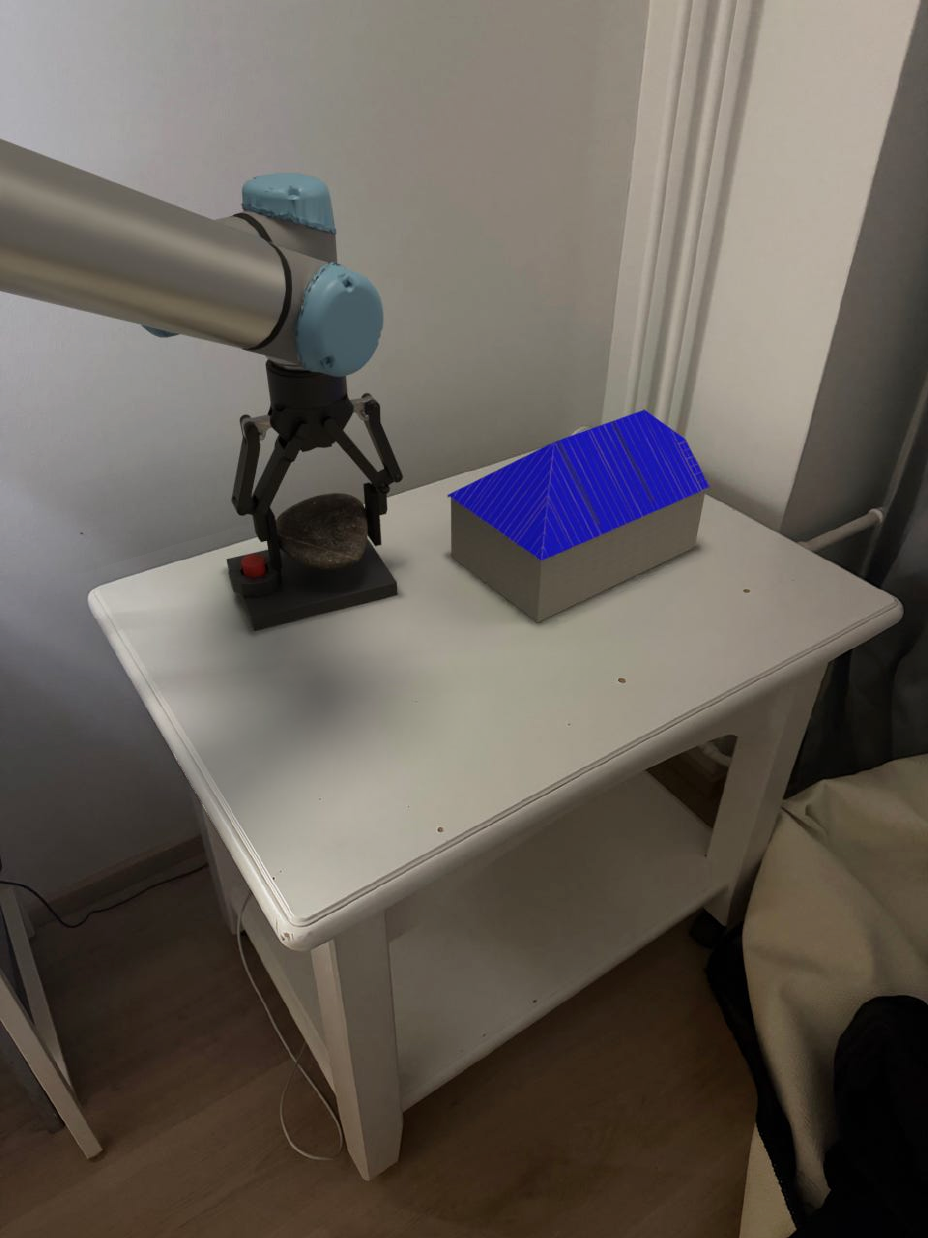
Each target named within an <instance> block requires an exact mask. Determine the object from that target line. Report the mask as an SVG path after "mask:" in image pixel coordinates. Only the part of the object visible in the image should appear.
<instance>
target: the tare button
mask: <svg viewBox="0 0 928 1238" xmlns="http://www.w3.org/2000/svg"><path fill="white" fill-rule="evenodd" d="M242 568H243V573H244V576H245V577H250V578H255V577H259V576H262V575H264V574H265V573H266V566H265V560H264V557H263V556H261V555H258V554H252V555H248V556H246V557H244V558H243V559H242Z"/></svg>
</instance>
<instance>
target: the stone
mask: <svg viewBox="0 0 928 1238" xmlns="http://www.w3.org/2000/svg"><path fill="white" fill-rule="evenodd" d="M275 520H276V527H277V534H278V541H279V548H280V549H281V550H282V551H283V552H284V553H285V554H286V555H288V556H289V557H290V558H292V559H293V560H295V561H297V562H299V563H301V564H303V565H305V566H308V567H311V568H316V569H322V570H334V569H340V568H344V567H348V566H350V565H353V564H355V563H357V562H358V561H359V560H360V559H361V557H362V555H363V553H364V550H365V547H366V543H367V538H368V526H367V514H366V510H365V504H363V502H362V501H361V500H360V499H359V498H357V497H356V496H353V495H352V494H348V493H342V492H330V493H324V494H323V493H322V494H320V495H316V496H312V497H311V496H310V497H309V498H307V499H303V500H301V501H299V502H297V503H295V504H293V505H291V506H290V507H288V508H286V509H285V510H283V512H281V513H280V514H279V515H278V516H277V517H276V518H275Z"/></svg>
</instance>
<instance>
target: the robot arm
mask: <svg viewBox="0 0 928 1238" xmlns="http://www.w3.org/2000/svg"><path fill="white" fill-rule="evenodd" d="M241 198H242V199H241V200H242V201H241V204H240V205H241V208H242V210H243V211H241V212H236V213H234V214H232V215H229V216H226V217H221V218H217V219H212V218H210V217H207V216H204V215H201V214H199V213H197V212H194V211H192V210H188V209H186V208H183V207H181V206H179V205H175V204H173V203H170V202H168V201H165V200H162V199H160V198H158V197H155V196H152V195H149V194H147V193H144V192H142V191H140V190H136V189H134V188H131V187H129V186H126V185H123V184H121V183H118V182H115V181H113V180H110V179H108V178H105V177H102V176H99V175H97V174H95V173H92V172H89V171H87V170H84V169H81V168H79V167H76V166H73V165H71V164H68V163H65V162H63V161H60V160H58V159H56V158H53V157H50V156H47V155H45V154H42V153H40V152H37V151H35V150H32V149H29V148H26V147H24V146H21V145H19V144H16V143H13V142H11V141H8V140H5V139H3V138H0V292H1V293H7V294H10V295H15V296H19V297H23V298H27V299H32V300H36V301H40V302H44V303H48V304H52V305H56V306H61V307H65V308H69V309H73V310H77V311H81V312H86V313H90V314H94V315H97V316H98V315H99V316H102V317H108V318H112V319H115V320H119V321H123V322H126V323H127V322H128V323H131V324H136V325H140V326H141V327H142V328H143V329H144V330H146V331H147V332H148V333H150V334H151V335H153V336H154V337H157V338H161V339H162V338H163V339H166V338H171V337H175V336H179V335H182V336H185V337H186V336H187V337H190V338H193V339H198V340H203V341H208V342H212V343H214V344H215V343H216V344H220V345H223V346H224V345H225V346H228V347H232V348H235V349H241V350H242V351H245V352H250V353H254V354H259V355H262V356H264V357H266V359H267V360H266V361H265V365H264V366H265V372H266V380H267V387H268V395H269V401H270V405H269V408H268V411H267V414H264V415H260V416H259V415H258V416H254V417H252V416H251V415H249V414H246V413H245V414H243V415H241V416H240V417H239V425H240V431H241V435H242V439H241V443H240V448H239V449H240V450H239V456H238V461H237V467H236V471H235V476H234V483H233V487H232V494H231V499H230V500H231V503H232V505H233V508H234V510H235V512H236V513H237V515H238V516H241V517H243V516H244V517H245V516H246V515H250V516H252V521H253V527H254V532H255V535H256V537H257V538H258V540H259V542H260V543H264V542H266V545H267V550H268V552H269V558H270V560H271V562H272V564H273V566H274V568H275V570H277V569H281V568H282V561H281V555H280V548H279V541H278V534H277V527H276V516H275V514H274V512H273V509H272V508H271V505H272V503H273V501H274V499H275V497H276V495H277V493H278V491H279V489H280V487H281V485H282V483H283V480H285V479H284V478H285V477H286V474H287V472H288V471H289V468H290V466H291V464H292V463H294V462H295V460H296V459H297V457H298V455H299V453H300V451H301V452H302V453H305V452H309V451H312V450H314V449H318V448H319V449H320V448H322V449H327V448H331V447H333V444H335V443H336V444H338V445H339V447H340V448H341V449H342V450H343V452H344V453H345V454H346V455H347V456H348V457H349V458H350V459H351V460H352V462H353V463H354V464H355V465H356V466H357V467H358V468H359V470H360V471H361V472H362V474H364V476H365V478H367V480H368V481H369V482H365V483H363V498H364V499H363V500H364V507H365V510H366V514H367V526H368V536H367V538H368V539H370V542H371V543H372V545H373V546H374V547H378V546H382V529H381V516H383V515H387V514H388V513H387V512H388V495H387V494H389V493H390V491H391V487H390V485H392V484H394V483H396V484H398V483H400V482H402V481H403V479H404V475H403V472H402V469H401V468H400V465H399V462H398V460H397V458H396V455H395V453H394V451H393V448H392V446H391V444H390V442H389V439H388V437H387V434H386V432H385V430H384V427H383V425H382V422H381V421H382V420H381V404H380V403H379V402H378V401H377V400H376V399H375V397H374V396H373V395H372V394H371V393H370V392H365V393H363V394H362V395H361V397H360V398H353V399H350V398H349V395H348V382H347V377H348V376H349V375H350V376H351V375H352V374H353V375H354V374H355V373H356V372H358V371H360V370H361V369H362V368H364V366H365V365H367V364H368V363H369V361H370V360H371V359H372V357H373V356H374V354H375V352H376V351H377V348H378V346H379V340H380V338H381V336H382V335H381V334H382V333H381V332H382V330H383V329H384V319H385V318H384V307H383V302H382V299H381V296H380V293H379V291H378V289H377V287H376V286H375V285H374V283H373V282H372V281H371V280H370V279H369V278H368V277H367V276H365V275H364V274H362V273H360V272H357V271H355V270H352V269H349V268H347V267H346V266H344V265H343V264H340V263H338V249H337V236H336V235H337V229H336V224H335V218H334V210H333V203H332V198H331V193H330V189H329V187H328V185H327V184H326V183H325V182H324V181H323V180H322V179H320V178H318V177H317V176H314V175H309V174H305V173H298V172H296V173H295V172H279V173H276V172H275V173H268V174H267V173H266V174H262V175H261V174H260V175H258V176H257V175H256V176H253V178H251V179H248V180H246V181H245V182H244V183H243V185H242V188H241ZM354 413H356V416H357V417H358V418H359V419H360V421H363V424H364V425H365V428H366V430H367V432H368V434H369V436H370V439H371V442H372V444H373V446H374V448H375V451H376V453H377V455H378V458H379V460H380V462H381V465H382V467H383V468H382V469H380V470H379V471H378V470H377V469H376V467H374V465H373V464H372V463H371V462H370V460H369V458H367V457H366V455H365V454H364V453H363V452H362V451H361V449H360V448H359V447H358V446H357V444H356V443H355V442H354V441H353V440H352V439H351V438H350V437H349V435H348V434H347V433H346V432H345V428H346V427H347V424H348V423H349V422H350V420H351V418H352V417H353V415H354ZM271 428H272V429H273V430H274V432H276V433H277V437H276V439H275V441H274V448H273V450H272V452H271V454H270V457H269V458H268V461H267V463H266V465H265V467H264V469H263V472H262V473H261V475H260V477H259V480H258V482H257V483H256V486H255V480H256V476H257V470H258V465H259V459H260V455H261V442H262V441H264V440H265V438H266V434H267V431H268V430H270V429H271ZM254 486H255V488H254ZM253 489H254V490H253Z"/></svg>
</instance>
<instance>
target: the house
mask: <svg viewBox="0 0 928 1238" xmlns="http://www.w3.org/2000/svg"><path fill="white" fill-rule="evenodd" d="M707 489H709V490H710V489H711V487H710V485H709V483H708V480H707V479H706V475H704V472H703V470H702V469H701V467H700V464H699V463H698V460H697V458H696V457H695V454H694V453H693V451H692V449H691V447H690V444H689V442H688V441H687V439H686V438H685V437H683V436H682V435H681V434H679V433H678V432H676V430H674V429H673V428H671V427H669V426H668V425H666V423H664V422H663V421H661V420H660V419H658V418H657V417H656V416H654V415H653V414H652V413H650V412H649V411H647V410H646V409H645V408H642V410H640V411H636V412H633V413H631V414H628V415H625V416H623V417H620V418H617V419H614V420H611V421H608V422H606V423H603V424H600V425H597V426H594V427H592V428H589V429H586V430H583V431H581V432H577V433H575V434H572V435H569V436H567V437H563V438H561V439H558V440H556V441H553V442H551V443H549V444H547V445H545V446H542V447H540V448H539V449H537V450H535V451H533V452H531V453H528V454H526V455H525V456H523V457H520V458H519V459H517V460H515V461H513V462H511V463H509V464H506V465H505V466H503V467H501V468H498V469H497V470H495V471H492V472H490V473H488V474H486V475H485V476H483V477H481V478H479V479H476V480H474V481H472V482H470V483H469V484H467V485H465V486H462V487H460V488H458V489H456V490H454V491H453V492H450V493H448V494H446V495H447V499H448V498H450V542H451V543H450V552H451V553H450V556H451V558H453V559H454V560H455V561H457V562H458V563H459V564H461V565H462V566H463V567H465V568H466V569H467V570H468V571H470V572H471V573H472V574H474V576H476V577H477V578H479V579H480V580H481V581H483V582H484V583H485V584H486V585H487V586H489V587H490V588H492V589H493V590H494V591H496V592H497V593H498V594H499V595H501V596H502V597H503V598H505V599H506V600H508V602H510V603H511V604H512V605H514V606H515V607H516V608H518V609H519V610H520V611H521V612H523V613H524V614H526V615H527V616H528V617H530V618H531V619H532V620H533V621H534V622H535V623H539V622H542V621H543V620H546V619H548V618H550V617H552V616H554V615H556V614H558V613H561V612H562V611H564V610H566V609H569V608H571V607H574V606H575V605H577V604H580V603H581V602H583V601H585V600H587V599H589V598H591V597H594V596H596V595H599V594H600V593H602V592H604V591H606V590H608V589H611V588H613V587H615V586H617V585H619V584H621V583H623V582H626V581H627V580H630V579H632V578H633V577H636V576H638V575H640V574H642V573H644V572H646V571H648V570H650V569H652V568H654V567H657V566H658V565H661V564H663V563H665V562H667V561H669V560H671V559H674V558H676V557H677V556H680V555H682V554H684V553H686V552H687V551H690V550H692V549H694V548H695V547H696V542H697V537H698V532H699V528H700V527H699V526H700V522H701V516H702V512H703V505H704V501H705V496H706V491H707Z"/></svg>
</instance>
